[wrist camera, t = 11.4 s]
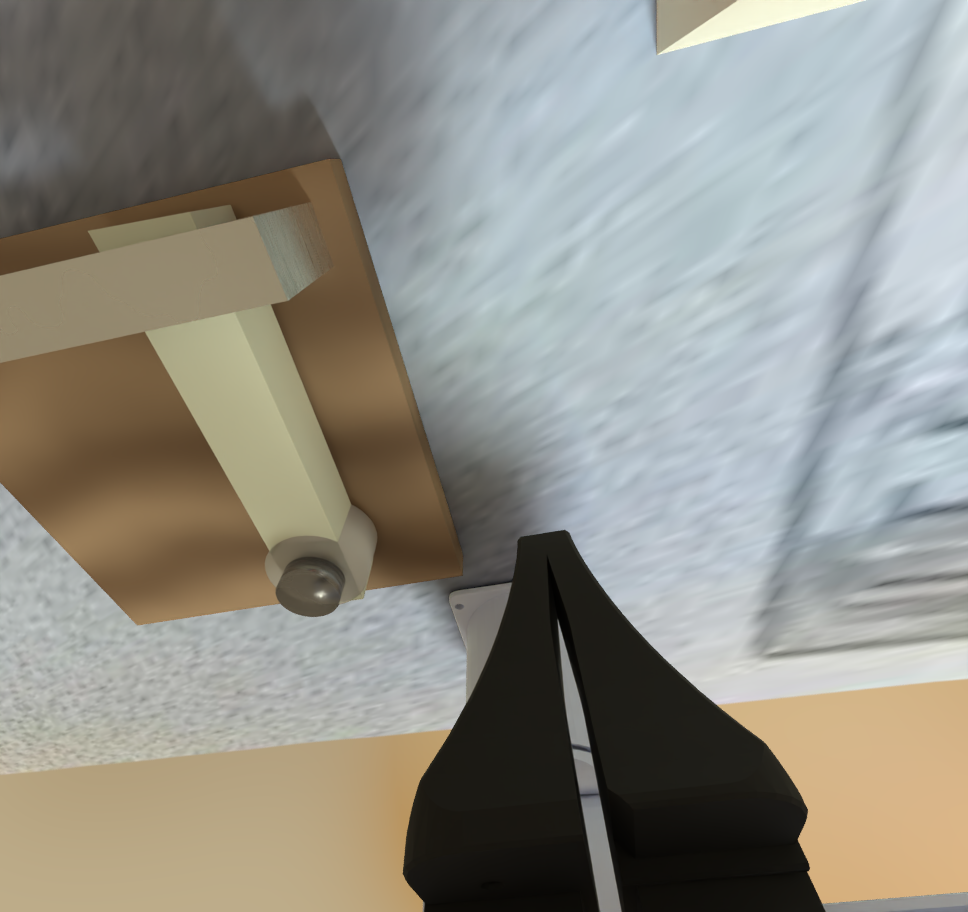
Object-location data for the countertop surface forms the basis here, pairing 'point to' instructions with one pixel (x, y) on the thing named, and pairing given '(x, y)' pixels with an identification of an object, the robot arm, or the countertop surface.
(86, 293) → the bar
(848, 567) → the countertop surface
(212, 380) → the bar
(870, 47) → the countertop surface
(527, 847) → the robot arm
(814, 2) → the milk
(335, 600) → the cylinder
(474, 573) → the countertop surface
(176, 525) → the base board
